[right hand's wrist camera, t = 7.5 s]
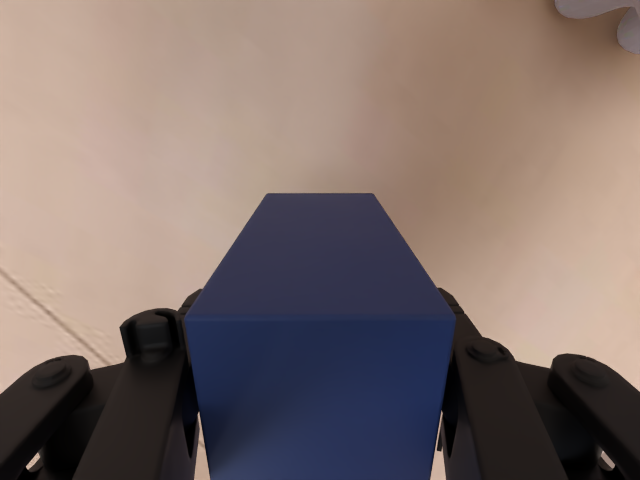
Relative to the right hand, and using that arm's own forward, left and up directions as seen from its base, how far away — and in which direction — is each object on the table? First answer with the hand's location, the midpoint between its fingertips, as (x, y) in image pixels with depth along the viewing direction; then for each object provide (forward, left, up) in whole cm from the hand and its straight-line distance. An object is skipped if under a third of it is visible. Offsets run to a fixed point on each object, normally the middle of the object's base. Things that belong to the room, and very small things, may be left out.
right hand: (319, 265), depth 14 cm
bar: (+6, +6, -1) cm, 8 cm away
